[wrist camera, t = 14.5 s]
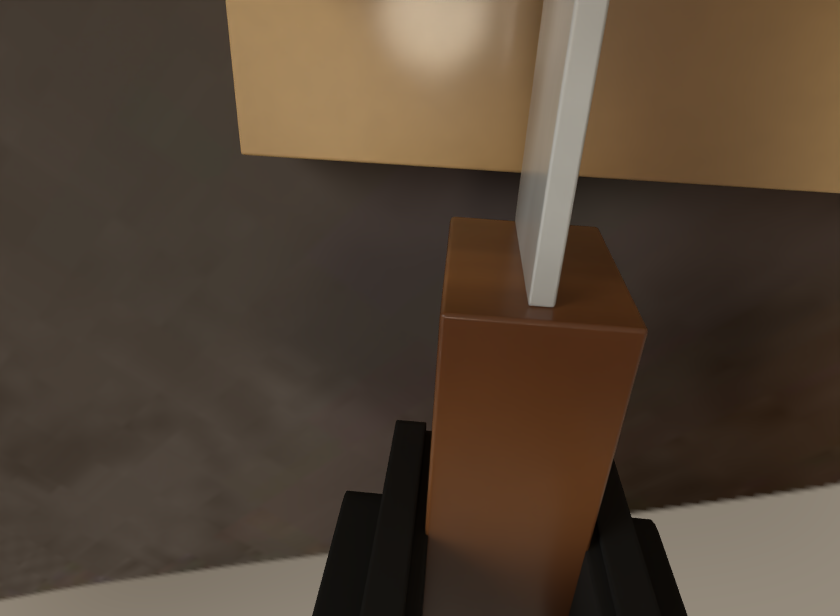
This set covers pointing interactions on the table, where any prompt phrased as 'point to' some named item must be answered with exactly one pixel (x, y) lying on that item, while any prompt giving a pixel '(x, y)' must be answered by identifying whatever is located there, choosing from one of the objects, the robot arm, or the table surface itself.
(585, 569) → the robot arm
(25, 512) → the table surface
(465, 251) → the knife
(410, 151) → the board
